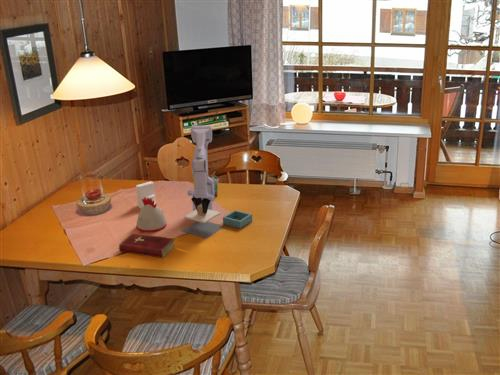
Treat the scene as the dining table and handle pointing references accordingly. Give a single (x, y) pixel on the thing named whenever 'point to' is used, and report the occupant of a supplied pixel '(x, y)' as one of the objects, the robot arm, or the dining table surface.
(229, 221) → the teal square tray
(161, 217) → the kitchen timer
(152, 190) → the base with upright slab
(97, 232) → the dining table surface
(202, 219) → the lid
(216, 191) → the food container
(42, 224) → the dining table surface
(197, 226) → the mat
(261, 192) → the dining table surface
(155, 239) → the hardcover book
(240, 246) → the dining table surface
